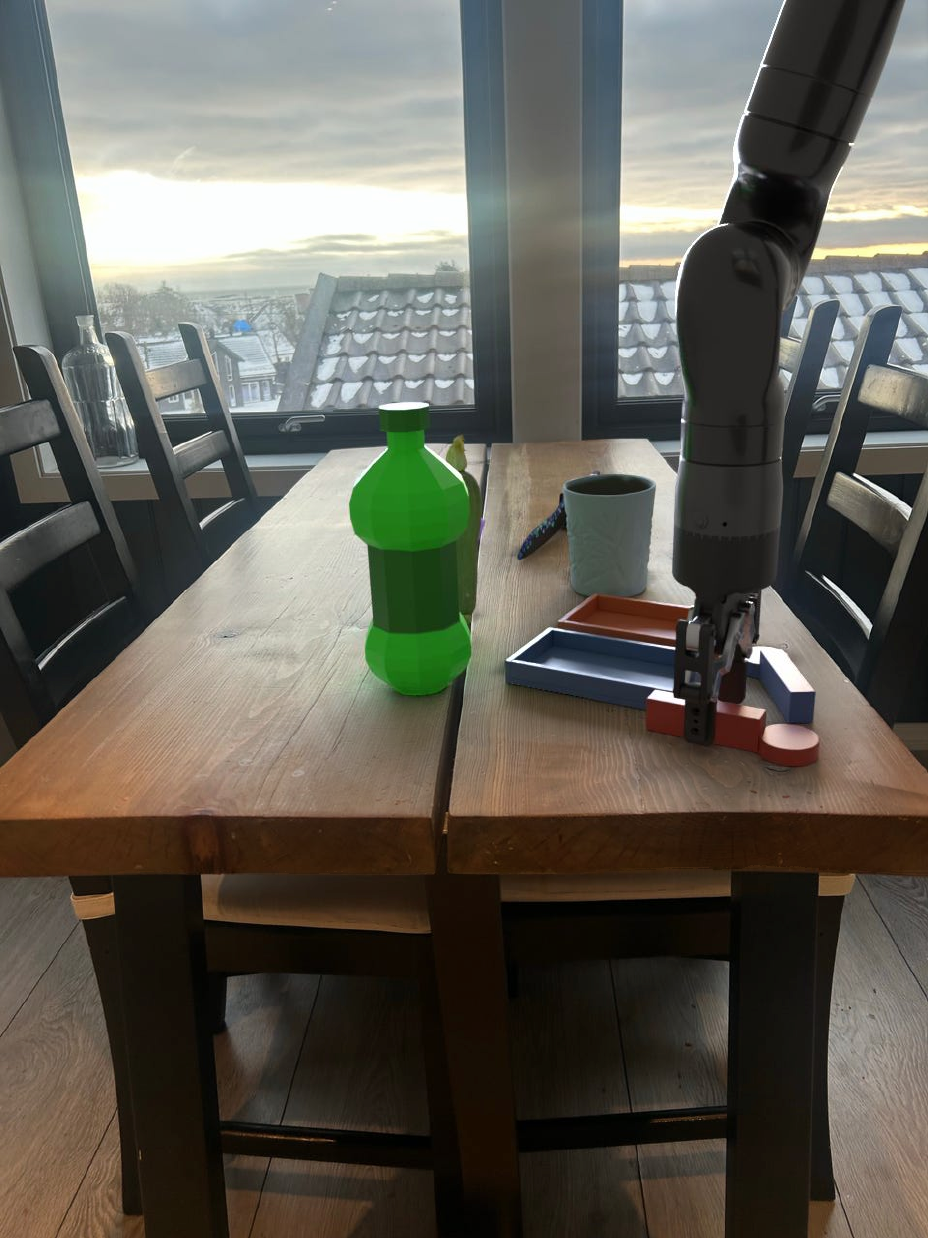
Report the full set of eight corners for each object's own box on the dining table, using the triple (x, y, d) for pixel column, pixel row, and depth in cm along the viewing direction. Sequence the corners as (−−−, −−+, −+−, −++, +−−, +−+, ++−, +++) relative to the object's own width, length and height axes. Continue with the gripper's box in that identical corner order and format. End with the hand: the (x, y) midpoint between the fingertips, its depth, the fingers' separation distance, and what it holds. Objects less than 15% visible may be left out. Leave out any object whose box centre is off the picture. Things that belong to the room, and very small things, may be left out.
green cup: (658, 575, 117) (661, 474, 113) (646, 604, 108) (649, 495, 104) (573, 571, 120) (573, 472, 116) (555, 598, 111) (553, 492, 107)
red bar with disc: (640, 736, 80) (640, 704, 79) (659, 714, 83) (660, 683, 82) (811, 771, 73) (814, 737, 72) (823, 746, 77) (826, 713, 76)
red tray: (746, 635, 99) (747, 614, 98) (718, 668, 91) (719, 646, 91) (594, 612, 107) (594, 593, 106) (557, 641, 99) (557, 621, 98)
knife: (593, 496, 150) (591, 467, 148) (612, 498, 148) (610, 468, 146) (500, 576, 126) (496, 542, 124) (521, 578, 125) (518, 545, 123)
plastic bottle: (461, 712, 85) (447, 415, 76) (346, 702, 88) (320, 415, 79) (490, 666, 94) (481, 396, 85) (385, 658, 97) (365, 397, 88)
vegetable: (443, 618, 107) (433, 430, 100) (483, 615, 107) (476, 428, 100) (446, 632, 103) (436, 438, 96) (488, 629, 103) (481, 435, 96)
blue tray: (712, 676, 90) (713, 653, 89) (678, 716, 82) (679, 692, 82) (549, 648, 98) (549, 627, 97) (505, 683, 90) (504, 660, 90)
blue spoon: (828, 722, 80) (831, 691, 79) (773, 724, 80) (775, 692, 79) (780, 659, 93) (782, 631, 92) (732, 661, 93) (734, 633, 92)
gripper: (751, 550, 65) (737, 772, 71) (802, 500, 76) (786, 695, 82) (642, 537, 69) (636, 750, 74) (706, 492, 80) (697, 679, 86)
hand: (715, 721), depth 78 cm, fingers open, 7 cm apart
